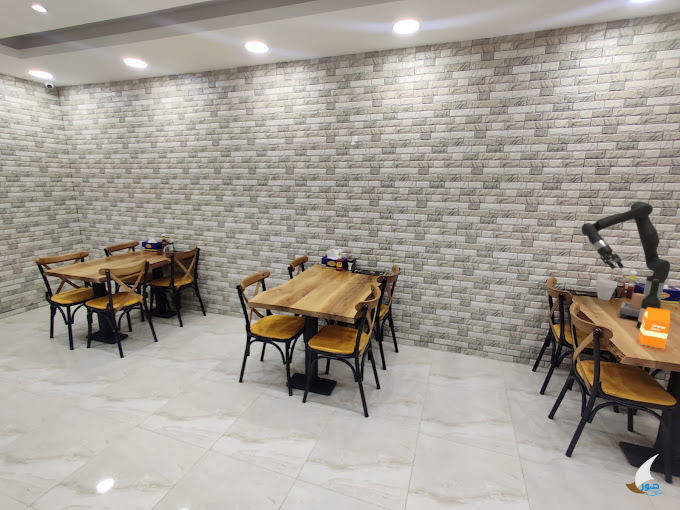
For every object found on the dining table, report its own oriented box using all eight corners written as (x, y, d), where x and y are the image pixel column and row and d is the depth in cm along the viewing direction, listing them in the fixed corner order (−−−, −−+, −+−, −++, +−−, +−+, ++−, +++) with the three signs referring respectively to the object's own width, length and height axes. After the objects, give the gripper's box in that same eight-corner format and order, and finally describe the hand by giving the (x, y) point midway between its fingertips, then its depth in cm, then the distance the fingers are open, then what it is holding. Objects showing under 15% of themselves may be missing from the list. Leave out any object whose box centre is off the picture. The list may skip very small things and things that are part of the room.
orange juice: (664, 349, 166) (672, 312, 162) (641, 345, 170) (648, 309, 166) (659, 343, 172) (667, 308, 168) (637, 339, 177) (645, 304, 173)
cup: (596, 300, 239) (599, 282, 236) (591, 295, 250) (594, 278, 247) (617, 302, 234) (620, 284, 231) (610, 297, 245) (614, 279, 242)
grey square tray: (621, 311, 216) (623, 302, 215) (649, 317, 207) (652, 307, 205) (618, 317, 207) (620, 307, 205) (648, 324, 197) (651, 313, 195)
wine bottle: (650, 326, 193) (661, 278, 187) (658, 332, 186) (670, 282, 179) (633, 324, 196) (643, 276, 190) (640, 330, 188) (651, 280, 182)
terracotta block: (629, 308, 207) (632, 293, 205) (633, 308, 208) (637, 293, 206) (638, 311, 203) (641, 296, 201) (642, 310, 204) (645, 295, 202)
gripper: (600, 245, 219) (616, 265, 211) (614, 244, 224) (630, 264, 215) (590, 251, 225) (606, 271, 217) (604, 250, 230) (619, 270, 221)
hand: (618, 268), depth 216 cm, fingers open, 8 cm apart
